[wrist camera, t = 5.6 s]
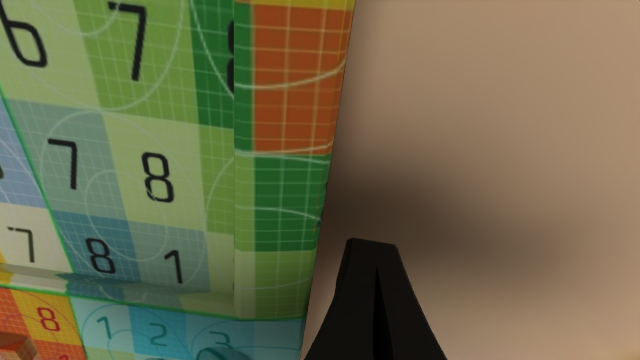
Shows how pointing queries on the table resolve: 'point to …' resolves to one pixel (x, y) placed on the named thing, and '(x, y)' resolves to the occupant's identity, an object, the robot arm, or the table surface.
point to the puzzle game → (164, 174)
